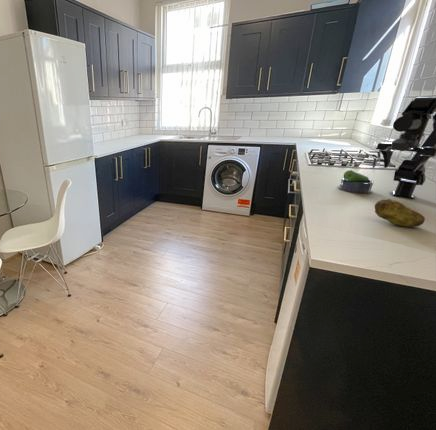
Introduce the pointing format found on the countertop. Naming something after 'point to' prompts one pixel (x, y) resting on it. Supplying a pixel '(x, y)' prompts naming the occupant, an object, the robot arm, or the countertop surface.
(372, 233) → the countertop surface
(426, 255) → the countertop surface
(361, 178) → the courgette
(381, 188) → the countertop surface
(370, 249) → the countertop surface
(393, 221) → the potato
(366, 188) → the blue bowl
